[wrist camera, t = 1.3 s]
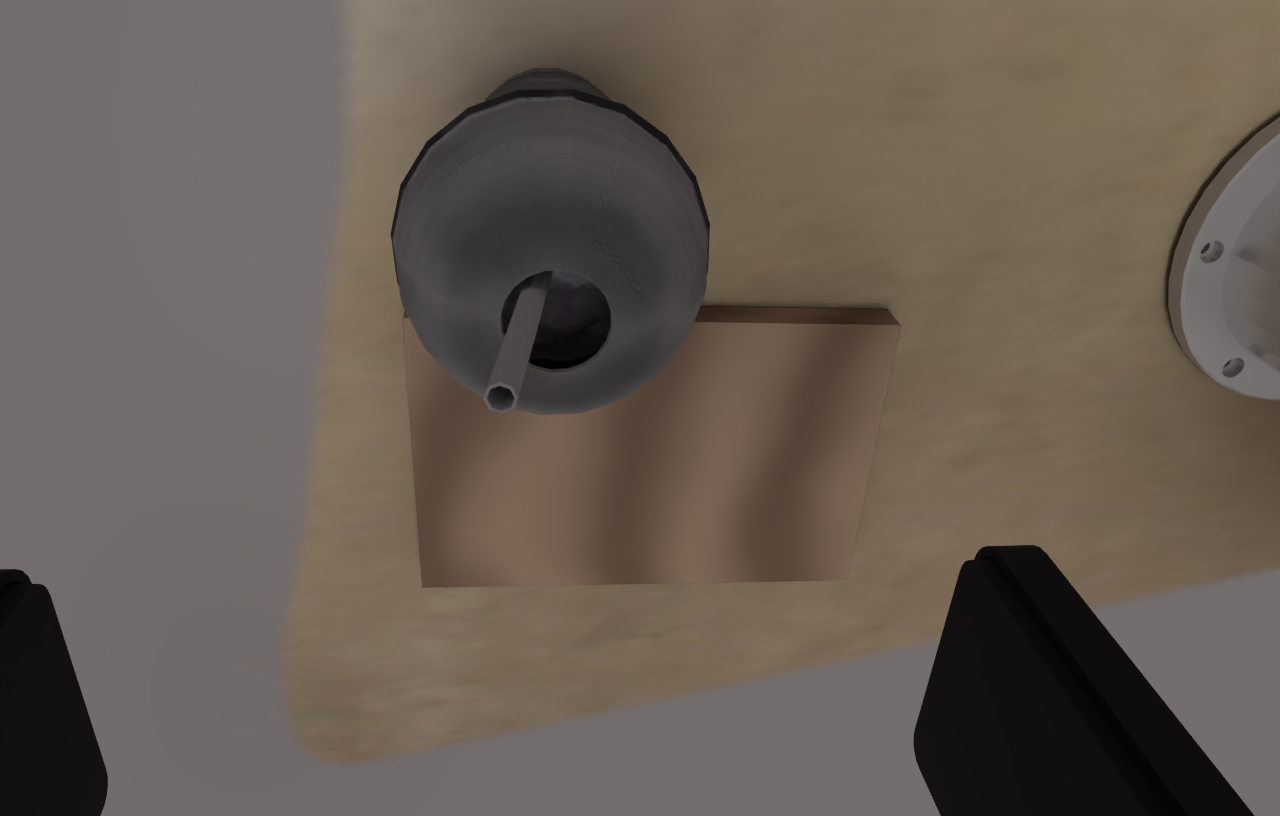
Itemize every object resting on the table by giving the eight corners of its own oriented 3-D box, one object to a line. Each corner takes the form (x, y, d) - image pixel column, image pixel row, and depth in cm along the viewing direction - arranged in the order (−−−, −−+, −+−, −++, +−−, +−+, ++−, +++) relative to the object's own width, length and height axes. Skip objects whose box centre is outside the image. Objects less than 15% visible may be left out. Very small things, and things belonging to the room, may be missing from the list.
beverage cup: (555, 281, 34) (574, 696, 16) (392, 141, 31) (204, 464, 13) (700, 134, 32) (898, 429, 14) (540, -32, 29) (544, 84, 11)
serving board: (887, 309, 35) (900, 325, 34) (837, 558, 41) (847, 580, 40) (408, 301, 33) (402, 318, 32) (426, 564, 39) (422, 587, 38)
